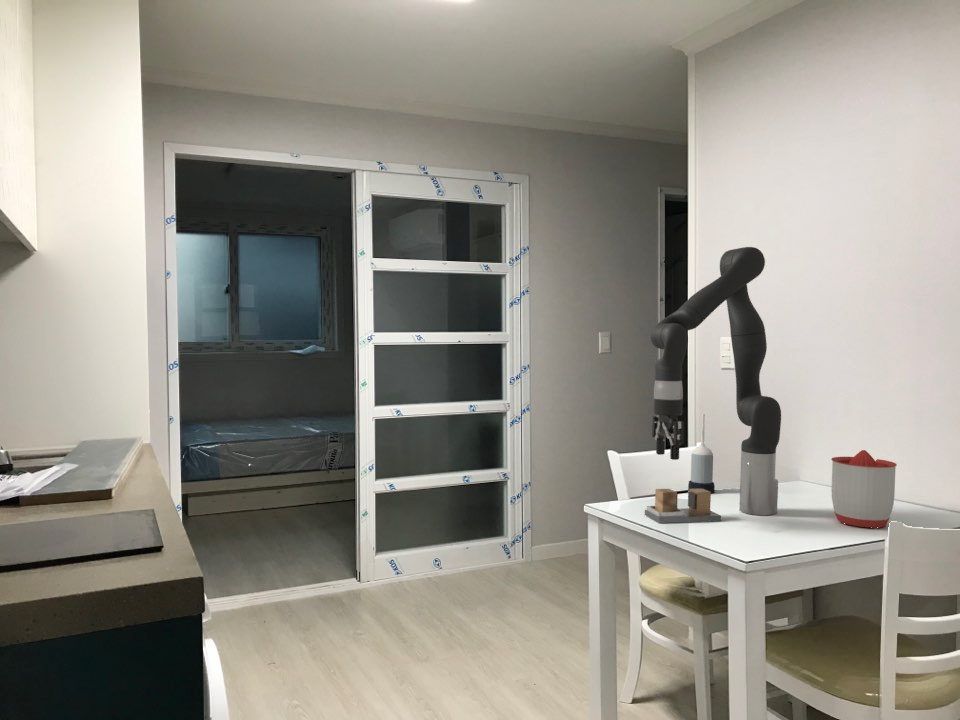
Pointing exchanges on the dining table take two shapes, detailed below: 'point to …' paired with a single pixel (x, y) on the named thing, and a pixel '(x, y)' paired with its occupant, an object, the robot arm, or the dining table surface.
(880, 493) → the citrus juicer
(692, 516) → the rail dock
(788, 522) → the dining table surface
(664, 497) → the tan wooden block
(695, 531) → the dining table surface
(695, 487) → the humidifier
